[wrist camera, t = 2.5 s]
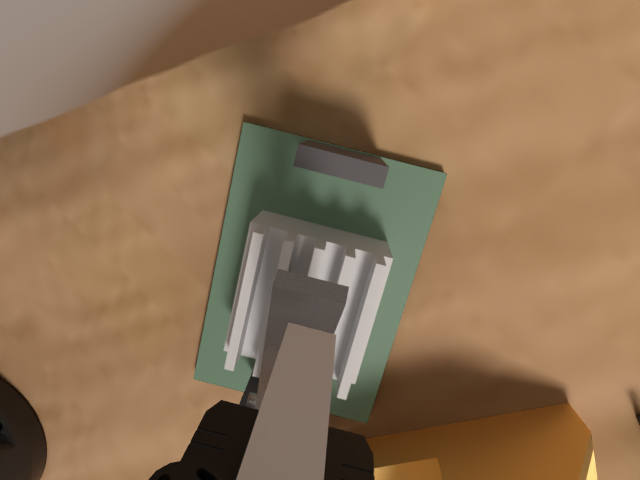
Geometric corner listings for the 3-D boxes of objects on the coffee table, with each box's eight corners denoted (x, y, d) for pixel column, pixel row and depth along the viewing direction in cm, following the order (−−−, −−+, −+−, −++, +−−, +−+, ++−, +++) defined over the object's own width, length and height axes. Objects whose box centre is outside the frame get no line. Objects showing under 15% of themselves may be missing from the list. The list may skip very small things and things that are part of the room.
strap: (310, 411, 28) (306, 430, 28) (249, 395, 28) (243, 414, 28) (364, 286, 17) (360, 312, 16) (264, 260, 17) (255, 285, 16)
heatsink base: (366, 415, 36) (371, 489, 28) (197, 372, 36) (159, 435, 28) (444, 172, 31) (473, 187, 23) (246, 122, 31) (214, 120, 23)
